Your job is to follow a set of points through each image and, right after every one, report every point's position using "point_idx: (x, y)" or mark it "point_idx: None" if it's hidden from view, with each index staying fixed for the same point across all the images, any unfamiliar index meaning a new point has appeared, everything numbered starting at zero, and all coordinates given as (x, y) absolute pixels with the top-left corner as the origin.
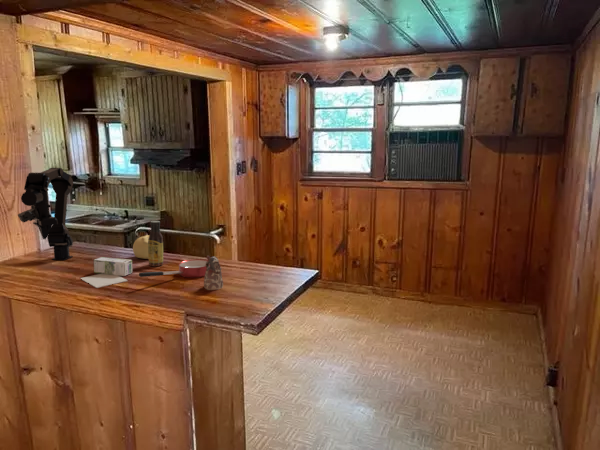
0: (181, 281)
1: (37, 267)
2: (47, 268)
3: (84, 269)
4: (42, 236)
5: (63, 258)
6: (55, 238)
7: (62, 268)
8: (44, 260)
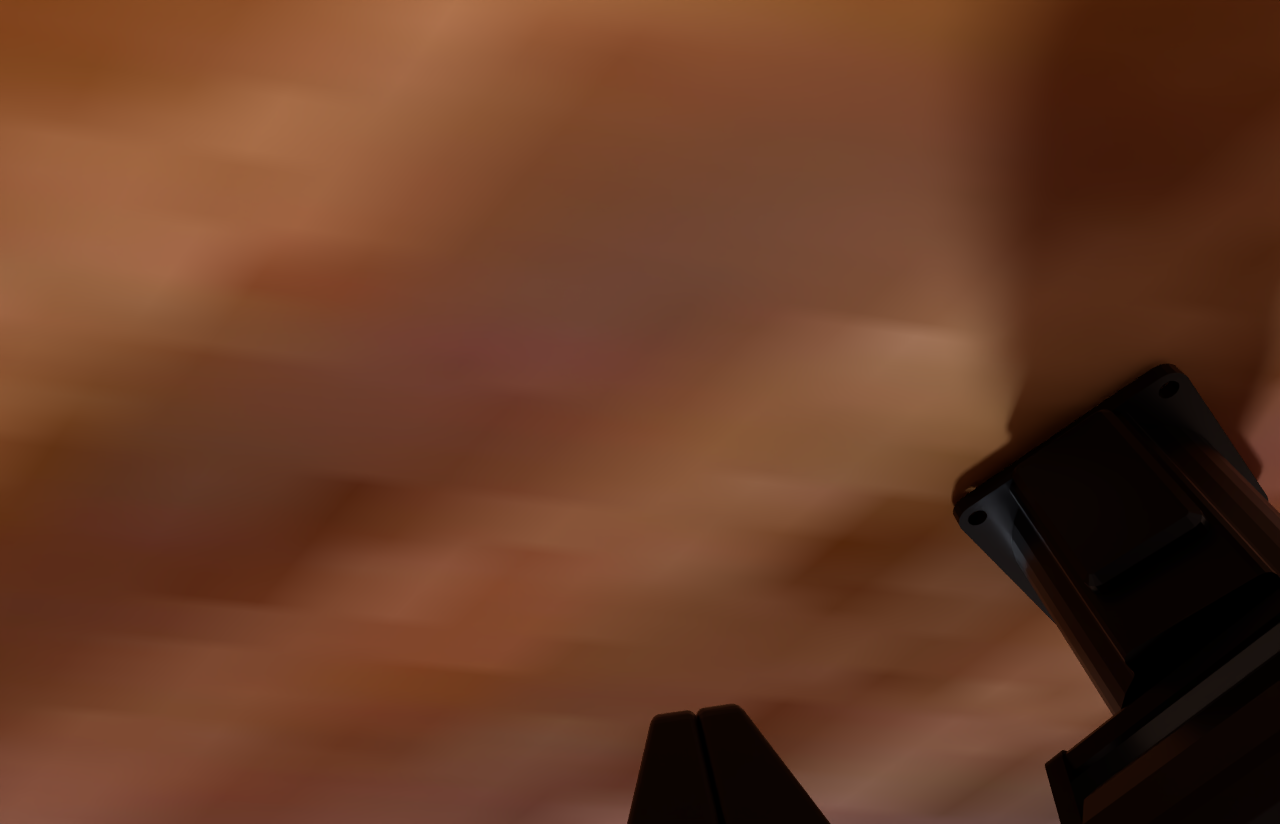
0: None
1: (826, 44)
2: (595, 197)
3: (144, 639)
4: (681, 810)
5: (1016, 515)
6: (1260, 799)
7: (417, 406)
8: (1258, 254)
